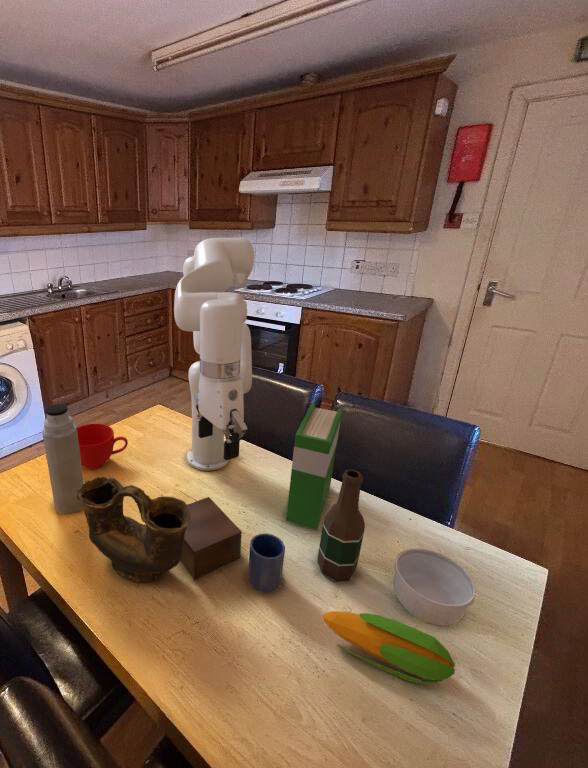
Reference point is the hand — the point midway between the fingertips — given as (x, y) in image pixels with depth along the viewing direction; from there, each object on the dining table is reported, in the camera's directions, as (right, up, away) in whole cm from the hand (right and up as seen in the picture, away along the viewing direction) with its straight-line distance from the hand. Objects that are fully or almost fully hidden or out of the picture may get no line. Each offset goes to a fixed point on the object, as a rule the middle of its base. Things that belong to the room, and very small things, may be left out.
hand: (217, 446), depth 84 cm
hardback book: (+26, -18, +23) cm, 39 cm away
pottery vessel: (-17, -26, +6) cm, 32 cm away
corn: (+26, -34, -14) cm, 45 cm away
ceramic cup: (-31, -11, +41) cm, 53 cm away
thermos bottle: (-36, -19, +24) cm, 47 cm away
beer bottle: (+25, -26, +4) cm, 37 cm away
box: (-3, -24, +9) cm, 26 cm away
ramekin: (+40, -29, -4) cm, 50 cm away
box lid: (-3, -18, +6) cm, 19 cm away
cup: (+10, -28, +1) cm, 29 cm away
